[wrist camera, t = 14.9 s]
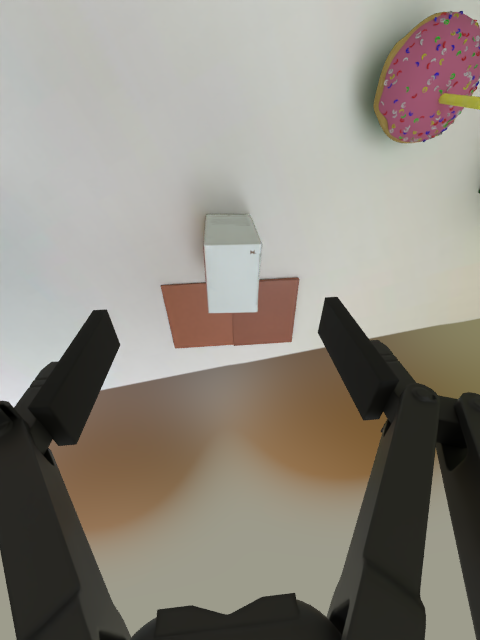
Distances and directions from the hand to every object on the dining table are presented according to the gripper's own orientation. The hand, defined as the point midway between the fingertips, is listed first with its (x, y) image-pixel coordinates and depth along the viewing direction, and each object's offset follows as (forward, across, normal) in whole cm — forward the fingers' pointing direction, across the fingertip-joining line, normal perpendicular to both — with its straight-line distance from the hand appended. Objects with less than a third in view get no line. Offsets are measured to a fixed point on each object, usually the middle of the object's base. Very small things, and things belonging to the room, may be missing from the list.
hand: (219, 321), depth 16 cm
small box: (+21, +1, -3) cm, 21 cm away
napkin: (+21, +2, -14) cm, 25 cm away
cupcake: (+21, +19, +13) cm, 31 cm away
